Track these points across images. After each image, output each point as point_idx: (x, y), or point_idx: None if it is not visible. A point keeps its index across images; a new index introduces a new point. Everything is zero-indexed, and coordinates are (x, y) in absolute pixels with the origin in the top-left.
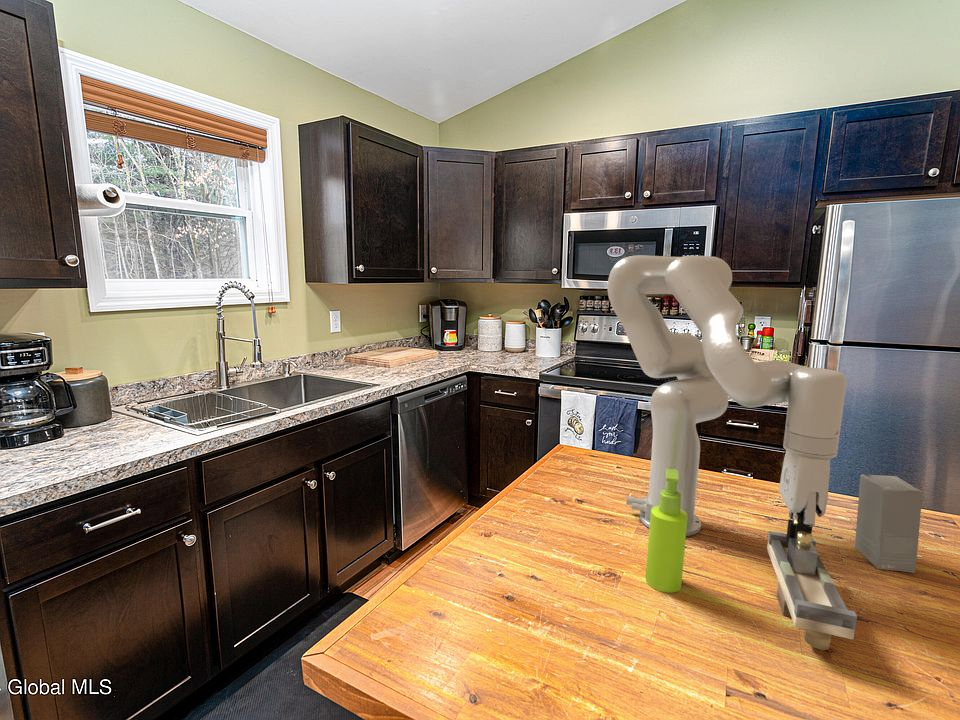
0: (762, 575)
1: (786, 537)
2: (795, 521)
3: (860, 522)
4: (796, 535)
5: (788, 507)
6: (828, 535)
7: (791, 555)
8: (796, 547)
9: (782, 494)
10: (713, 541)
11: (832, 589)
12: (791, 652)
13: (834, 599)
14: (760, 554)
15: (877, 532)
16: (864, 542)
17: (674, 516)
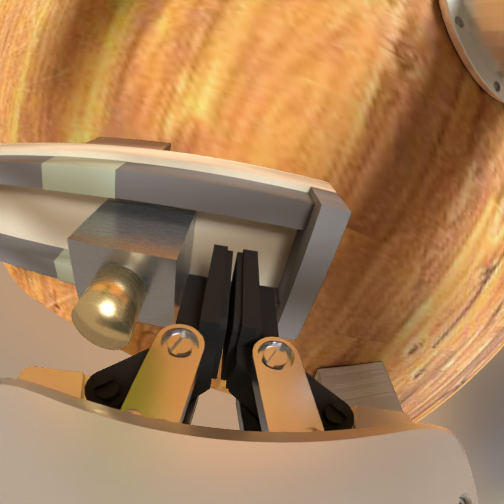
0: (273, 140)
1: (255, 256)
2: (150, 351)
3: (387, 406)
4: (182, 297)
5: (27, 404)
6: (421, 340)
7: (123, 220)
8: (88, 252)
9: (323, 480)
10: (435, 85)
11: (34, 264)
12: (14, 130)
13: (4, 249)
14: (382, 184)
15: None
16: (362, 384)
17: None
